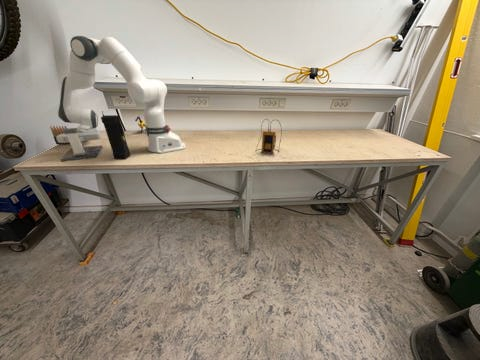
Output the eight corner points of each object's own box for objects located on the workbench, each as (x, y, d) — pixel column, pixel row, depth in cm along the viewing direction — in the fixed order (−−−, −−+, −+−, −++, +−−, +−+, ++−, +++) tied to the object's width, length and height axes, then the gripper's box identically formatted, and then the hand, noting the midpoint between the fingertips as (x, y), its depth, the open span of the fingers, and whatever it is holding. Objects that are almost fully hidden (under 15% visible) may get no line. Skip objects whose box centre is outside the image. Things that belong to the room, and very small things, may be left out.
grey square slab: (102, 147, 124) (102, 145, 123) (96, 157, 109) (95, 155, 109) (72, 150, 119) (71, 148, 118) (61, 161, 104) (60, 159, 103)
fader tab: (86, 152, 112) (76, 127, 105) (84, 154, 108) (74, 129, 101) (75, 153, 110) (65, 128, 103) (73, 155, 107) (62, 130, 100)
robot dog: (135, 135, 147) (130, 117, 140) (147, 129, 162) (143, 113, 156) (142, 136, 146) (138, 117, 140) (153, 130, 162) (150, 113, 156)
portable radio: (133, 155, 113) (120, 110, 101) (128, 159, 108) (114, 112, 96) (119, 155, 113) (105, 110, 101) (113, 159, 108) (98, 112, 96)
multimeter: (279, 148, 126) (283, 116, 117) (279, 154, 118) (283, 120, 108) (257, 146, 129) (259, 115, 119) (255, 152, 120) (256, 118, 111)
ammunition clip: (75, 143, 130) (67, 125, 124) (72, 144, 128) (65, 126, 123) (58, 143, 130) (50, 125, 124) (56, 144, 128) (47, 126, 122)
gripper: (59, 130, 113) (49, 137, 102) (100, 127, 120) (95, 133, 109) (64, 140, 116) (54, 148, 105) (103, 137, 123) (99, 144, 112)
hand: (75, 140), depth 107 cm, fingers closed
